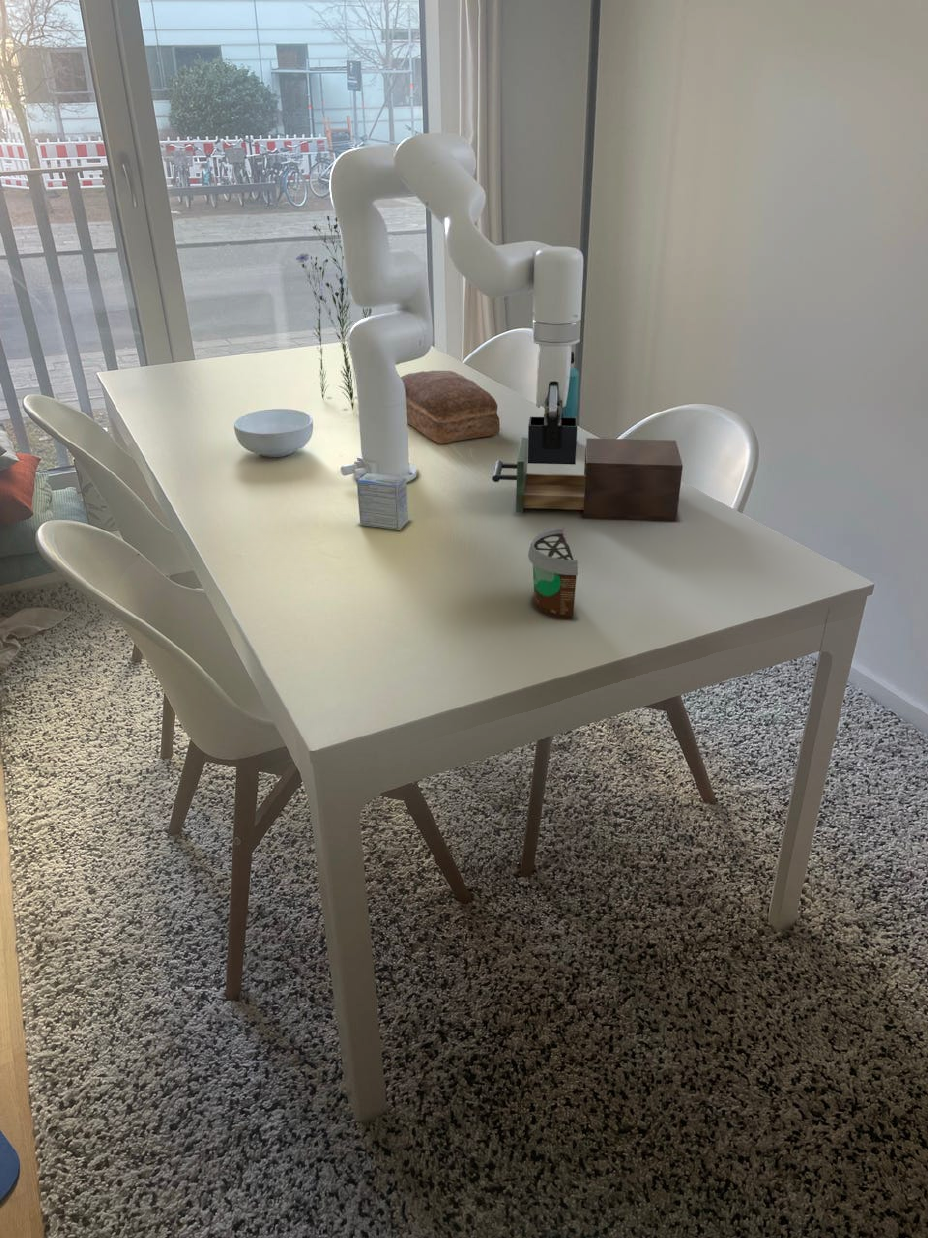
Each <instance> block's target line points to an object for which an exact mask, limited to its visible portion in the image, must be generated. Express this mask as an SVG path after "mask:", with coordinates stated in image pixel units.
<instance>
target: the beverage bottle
mask: <svg viewBox="0 0 928 1238" xmlns="http://www.w3.org/2000/svg"><path fill="white" fill-rule="evenodd" d="M575 361H576V360H575V352H574V351H571V365H572V364H575ZM579 376H580V373H579V371H578V369H576V368H575V367H573V366H571V369H570V380H569V389H568V395H567V401H566V406H565V407H564V408H562V414H563V417H574V418H579V417H578V411H579Z"/></svg>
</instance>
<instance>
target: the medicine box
mask: <svg viewBox="0 0 928 1238" xmlns="http://www.w3.org/2000/svg"><path fill="white" fill-rule="evenodd" d="M356 488H357V500H358V501H357V502H358V503H357V504H358V516H359V525H360V526H365V527H373V528H380V529H381V528H382V529H388V530H396V531H401V529H402V528H403V527H404V526H405V525H406V524H407V523H408V522H409V509H408V508H409V507H408V490H407V489H408V488H407V483H406V478H405V477H397V476H389V475H380V474H370V473H367V474H365V475H364V476H363V477H361V478H360V479H359V480H357V481H356Z"/></svg>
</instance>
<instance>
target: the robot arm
mask: <svg viewBox="0 0 928 1238" xmlns="http://www.w3.org/2000/svg"><path fill="white" fill-rule="evenodd" d="M476 168H477V159H476V154H475V150H474V149H473V147H472V144H470V142H469V141H468V140H467V139H466V138H465V137H464V136H462V135H461V134H458V133H455V132H432V133H431V132H429V133H428V132H427V133H417V134H414V135H411V136H408V137H407V138H405V139H404V140H403V141H402V142H401V143H400V144H387V145H383V144H381V145H364V146H358V147H354V148H351V149H349V150H347V151H344V152H342V153H341V154H340V155H339V156H338V157H337V158H336V160H335V161H334V163H333V166H332V167H331V170H330V175H329V194H330V201H331V205H332V207H333V210H334V213H335V216H336V217H337V220H338V221H337V225H338V228H339V230H340V232H339V234H340V238H341V239H340V240H341V247H342V255H343V256H344V259H343V263H344V267H345V276H346V275H347V276H346V283H347V282H348V294H349V296H350V299H351V300H352V303H354V305H355V306H357V307H359V308H360V309H363V308H364V309H365V308H366V310H367V309H368V310H369V309H370V308H371V309H378V308H383V307H388V306H392V308H393V311H392V312H384V313H381V314H376V315H370V316H371V317H370V316H368V317H367V316H366V318H365V317H364V318H362V319H360V320H358V321H357V322H356V323H355V324H353V326H352V327H350V329H349V331H348V336H347V341H348V343H347V347H348V351H349V352H348V353H349V356H350V359H351V364H352V363H353V364H352V366H353V368H352V369H353V370H354V372H353V373H354V377H355V389H356V398H357V409H358V411H357V412H358V424H359V425H358V426H359V440H360V455H357V456H356V460H355V461H354V462H353V463H352V464H346V465H342V466H341V467H340V472H341V474H342V476H344V477H345V476H350V475H354V477H355V479H356V480H357V481H358V480H359V479H360V478H361V477H363V476H364V475H365V474H367V473H370V474H380V475H389V476H397V477H405V478H406V484H407V483H409V482H411V481H413V480H415V478H416V477H417V475H418V469H417V467H416V466H415V465H414V464H412V463H410V459H409V436H408V423H407V410H406V392H405V386H404V383H403V381H402V379H401V377H402V376H400V374H399V372H398V371H397V368H396V366H397V365H400V364H403V363H407V362H412V361H414V360H418V359H421V358H423V357H424V356H426V355H427V354H428V353H429V352H430V351H431V348H432V346H433V342H434V325H433V316H432V315H433V314H432V304H431V295H430V287H429V279H428V274H427V270H426V268H425V266H424V263H423V262H422V260H421V259H420V257H419V256H418V255H417V254H416V253H414V252H413V251H411V250H409V249H404V248H397V249H391V248H390V243H389V232H388V228H387V227H388V226H387V224H386V221H385V220H384V217H383V216H382V214H381V212H380V211H379V209H378V208H377V207H376V205H375V204H374V202H375V201H381V200H382V201H383V200H394V199H395V200H396V199H404V198H414V197H416V198H417V199H418V201H420V202H421V204H422V205H423V206H424V207H425V208H426V209H427V210H428V211H429V212H430V213H431V214H432V215H433V217H434V218H436V220H437V221H438V222H439V223H440V224H441V225H442V226H443V227H444V231H445V232H444V239H445V244H446V248H447V252H448V255H449V258H450V260H451V262H452V264H453V266H454V267H455V269H456V270H457V271H458V272H459V273H460V275H462V276H463V277H464V278H465V280H466V281H467V282H468V283H469V284H470V285H471V286H472V287H473V288H474V289H476V291H478V292H479V293H481V294H482V295H484V296H486V297H489V298H493V299H499V298H506V297H510V296H514V295H519V294H524V293H530V292H532V332H531V333H532V335H531V342H532V343H534V344H536V345H538V347H537V358H536V359H537V361H536V391H535V392H536V395H535V406H536V407H537V408H539V409H540V408H541V407H544V414H543V417H544V424H543V433H542V448H543V449H561V448H562V425H561V417H563V414H562V408H564V407H565V406H566V401H567V395H568V389H569V380H570V369H571V367H572V364H571V352H573V350H572V349H573V345H576V344H578V343H580V341H581V322H582V320H581V318H582V299H583V282H584V281H583V279H584V278H583V277H584V255H583V253H582V251H581V250H580V249H579V248H576V247H571V246H559V245H558V246H557V245H556V246H553V245H550V244H548V243H544V242H541V241H536V240H526V241H520V242H519V241H518V242H511V243H504V244H499V245H495V244H493V243H492V242H491V241H490V240H489V239H488V238H487V237H486V236H485V235H484V234H483V233H482V231H480V229H479V228H478V227H477V226H476V222H477V221H478V219H480V217H481V216H482V213H483V211H484V208H485V206H486V201H487V197H486V196H487V195H486V192H485V189H484V188H483V186H482V185H481V184H480V183H479V182H478V181H477V180H476V179H475V178H474V174H475V173H476ZM336 217H335V218H336ZM547 423H548V424H547Z"/></svg>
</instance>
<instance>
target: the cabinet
mask: <svg viewBox="0 0 928 1238" xmlns="http://www.w3.org/2000/svg"><path fill="white" fill-rule="evenodd" d="M584 451H585V452H584V467H583V475H586V476H585V493H584V510H582V518H583V519H601V520H603V519H606V520H607V519H608V520H629V521H630V520H632V521H636V520H637V521H658V522H660V521H661V522H677V519H678V510H679V503H680V493H681V484H682V477H683V475H682V474H683V467H684V465H683V461H682V458H681V455H680V454H681V453H680V450H679V447H678V443H677V441H676V440H668V439H667V440H664V439H663V440H661V439H629V438H625V439H624V438H591V437H590V438H588V437H587V438H586V437H585V450H584Z"/></svg>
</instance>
